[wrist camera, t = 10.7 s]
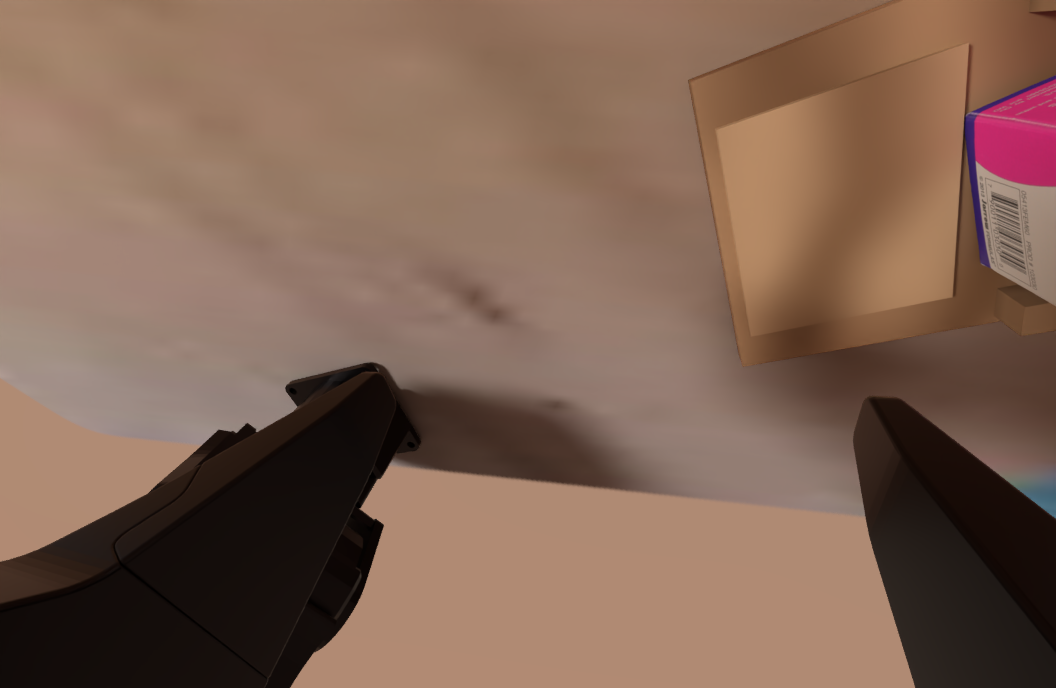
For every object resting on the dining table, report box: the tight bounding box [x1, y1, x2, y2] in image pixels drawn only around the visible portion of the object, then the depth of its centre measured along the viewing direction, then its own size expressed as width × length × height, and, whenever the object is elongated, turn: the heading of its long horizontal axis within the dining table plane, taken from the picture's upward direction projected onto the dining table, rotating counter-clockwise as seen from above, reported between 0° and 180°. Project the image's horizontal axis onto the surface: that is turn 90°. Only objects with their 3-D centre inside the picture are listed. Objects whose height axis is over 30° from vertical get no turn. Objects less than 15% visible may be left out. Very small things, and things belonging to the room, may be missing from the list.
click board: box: [688, 0, 1056, 367], centre depth 15 cm, size 18×12×4 cm, turn 111°
